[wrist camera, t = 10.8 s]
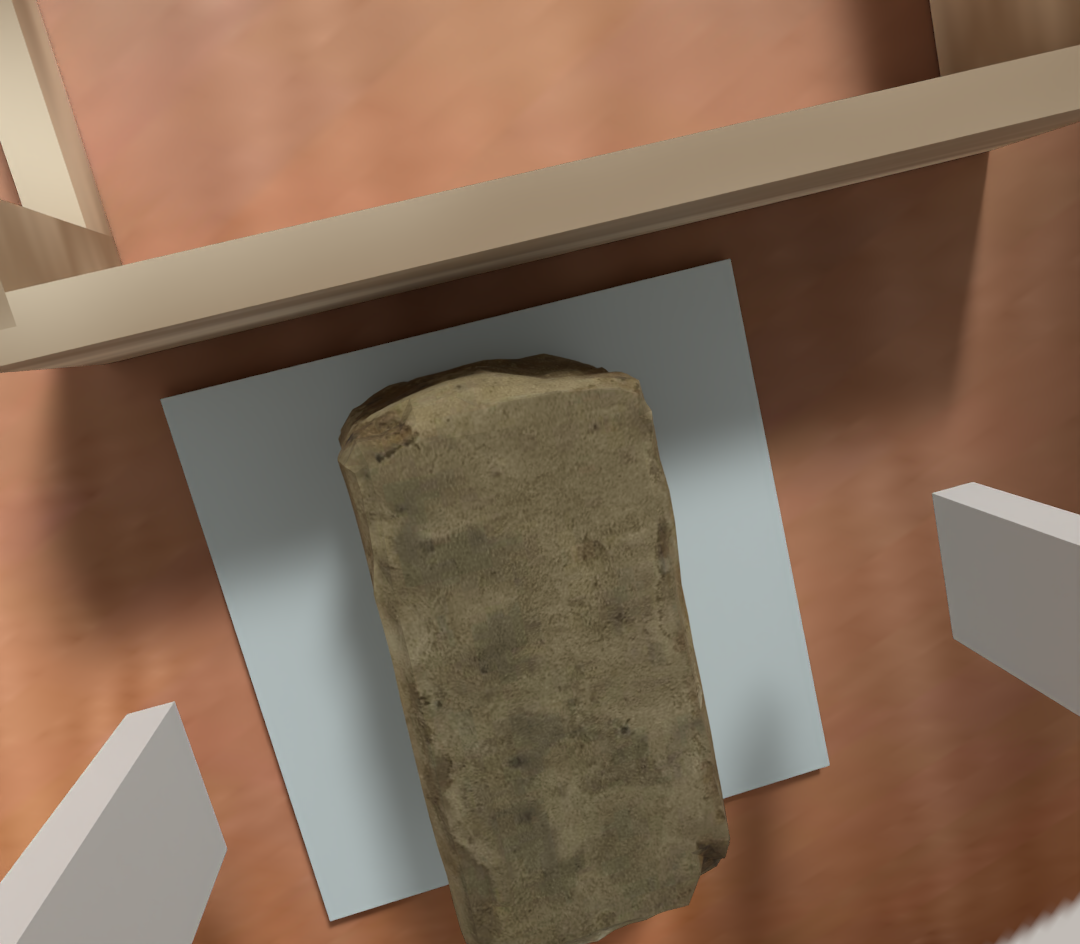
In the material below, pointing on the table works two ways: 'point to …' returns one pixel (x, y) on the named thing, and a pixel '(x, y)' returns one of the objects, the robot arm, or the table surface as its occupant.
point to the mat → (347, 591)
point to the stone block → (539, 643)
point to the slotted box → (479, 194)
